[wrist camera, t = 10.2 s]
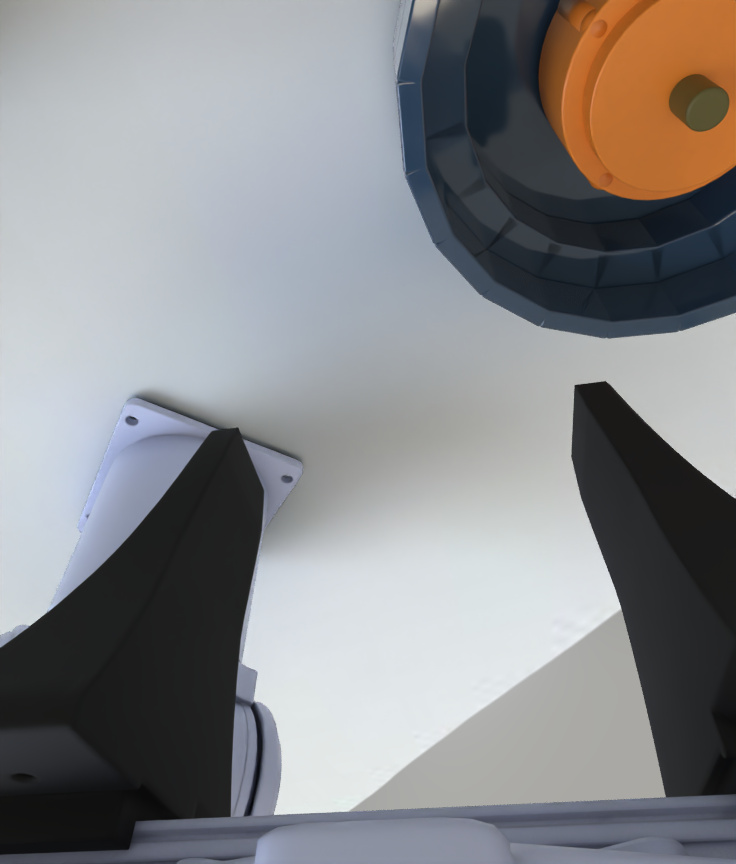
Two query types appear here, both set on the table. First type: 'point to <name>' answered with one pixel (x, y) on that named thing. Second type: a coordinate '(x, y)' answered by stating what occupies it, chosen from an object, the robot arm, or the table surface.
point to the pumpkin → (643, 92)
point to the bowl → (543, 187)
